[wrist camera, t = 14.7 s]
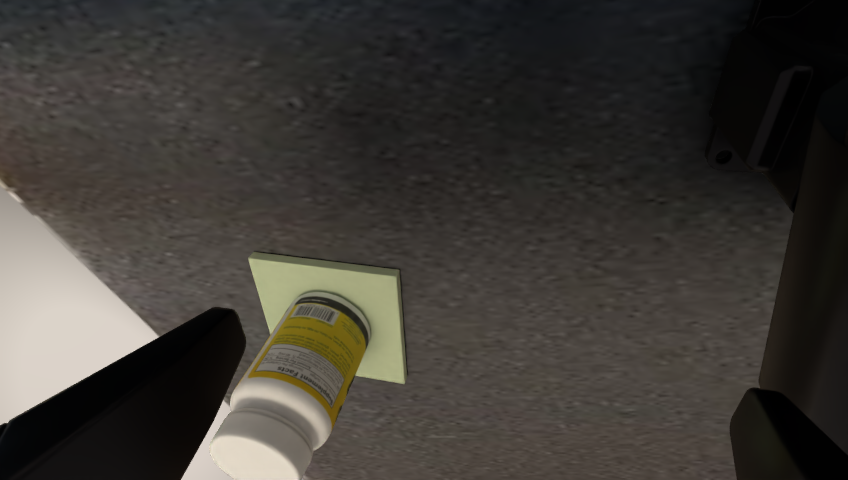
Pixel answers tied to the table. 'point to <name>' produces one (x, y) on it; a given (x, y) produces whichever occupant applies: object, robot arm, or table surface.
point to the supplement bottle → (292, 390)
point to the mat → (355, 284)
